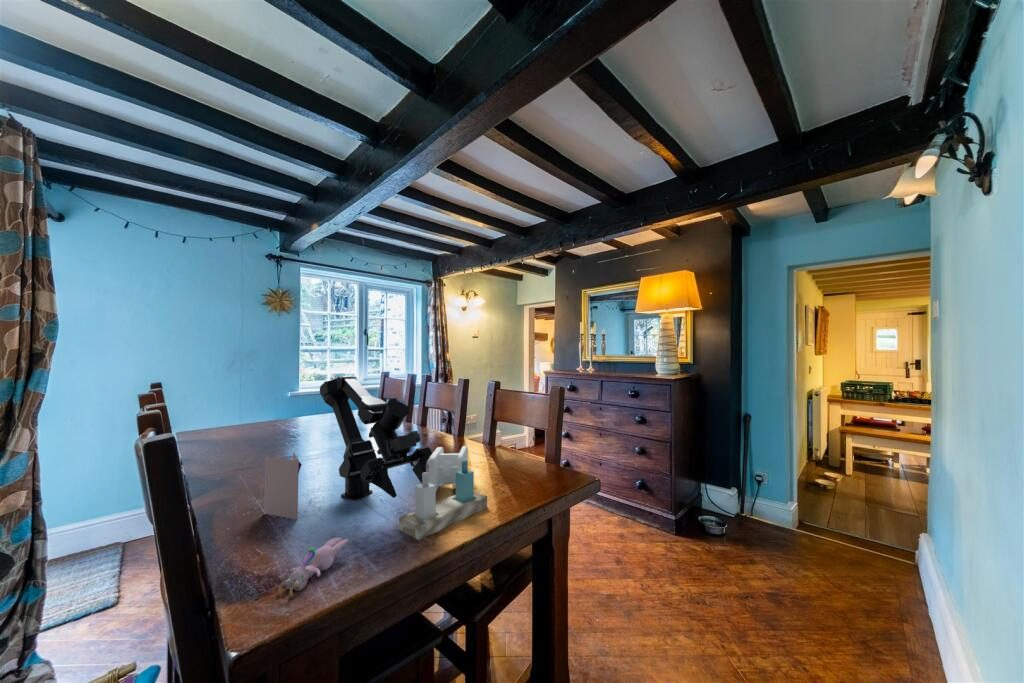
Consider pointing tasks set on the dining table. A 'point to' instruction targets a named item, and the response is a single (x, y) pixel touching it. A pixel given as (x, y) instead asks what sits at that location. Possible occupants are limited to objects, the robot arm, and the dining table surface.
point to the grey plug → (425, 499)
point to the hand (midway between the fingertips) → (411, 491)
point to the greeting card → (281, 486)
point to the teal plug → (464, 484)
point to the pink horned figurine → (313, 564)
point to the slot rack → (441, 516)
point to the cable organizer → (445, 466)
